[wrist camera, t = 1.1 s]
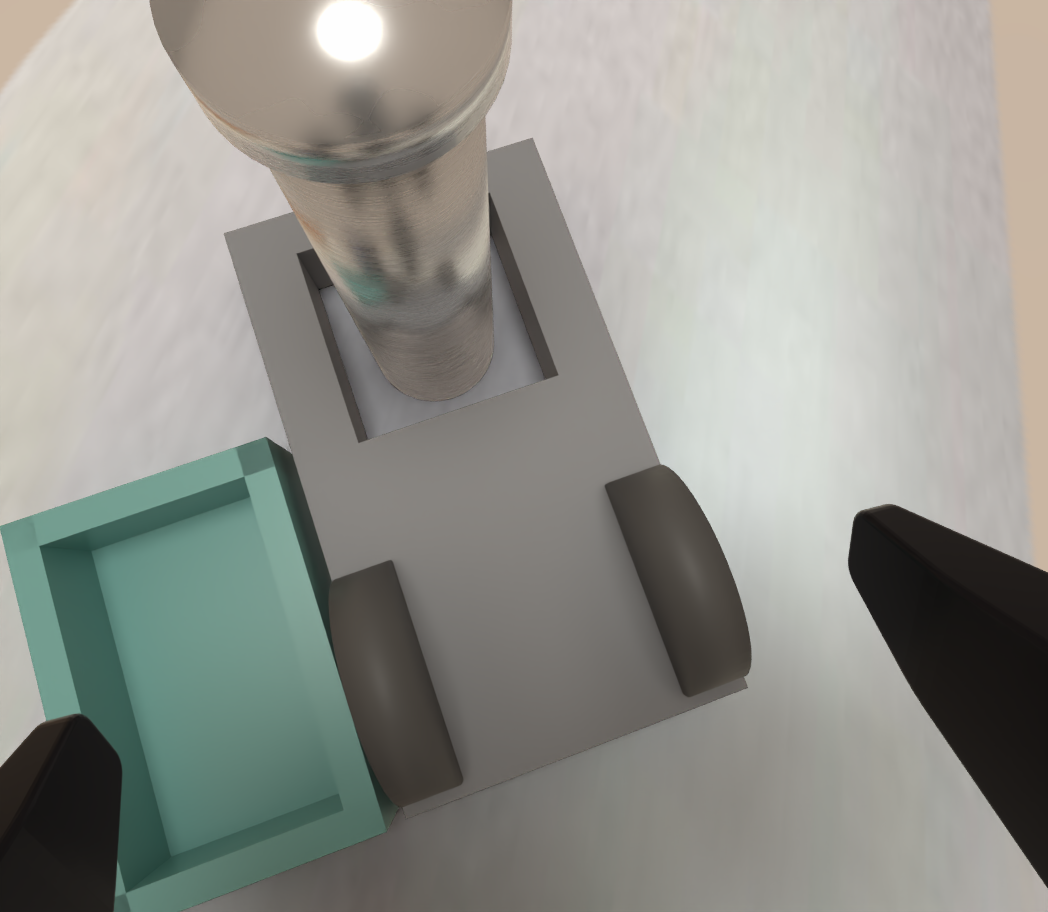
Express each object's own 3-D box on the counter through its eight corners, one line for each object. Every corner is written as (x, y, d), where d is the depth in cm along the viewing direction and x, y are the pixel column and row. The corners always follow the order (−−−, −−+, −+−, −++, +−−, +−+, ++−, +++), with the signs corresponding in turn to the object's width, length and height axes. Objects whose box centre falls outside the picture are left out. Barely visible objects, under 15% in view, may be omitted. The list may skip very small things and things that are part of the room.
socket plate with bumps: (720, 676, 22) (794, 706, 16) (417, 792, 21) (386, 864, 15) (529, 184, 24) (537, 62, 18) (253, 271, 23) (175, 172, 18)
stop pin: (527, 386, 23) (563, 76, 9) (387, 434, 22) (204, 186, 9) (479, 256, 24) (446, -213, 10) (343, 300, 23) (108, -125, 9)
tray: (403, 797, 21) (386, 831, 18) (159, 890, 20) (100, 942, 17) (297, 457, 22) (266, 437, 19) (67, 534, 22) (-1, 526, 19)
